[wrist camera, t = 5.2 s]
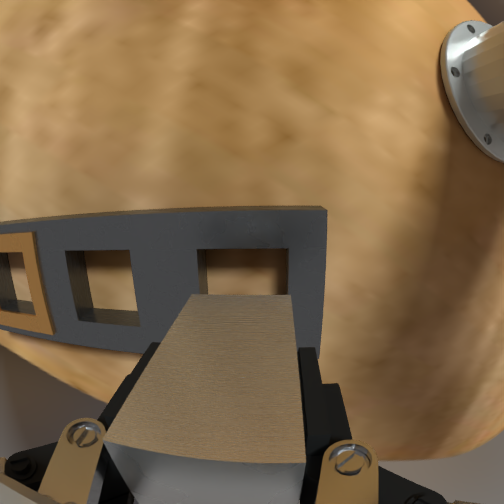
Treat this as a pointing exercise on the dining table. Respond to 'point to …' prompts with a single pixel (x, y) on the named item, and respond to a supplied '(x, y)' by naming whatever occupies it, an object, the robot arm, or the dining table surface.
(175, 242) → the grey flat slotted plate
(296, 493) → the steel block
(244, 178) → the dining table surface
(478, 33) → the robot arm
